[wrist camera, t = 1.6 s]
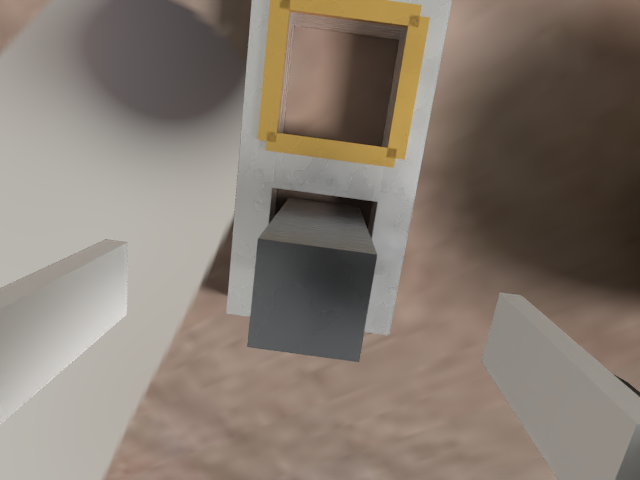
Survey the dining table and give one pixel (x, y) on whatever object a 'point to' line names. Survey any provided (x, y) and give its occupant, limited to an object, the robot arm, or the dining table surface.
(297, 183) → the grey slotted holder
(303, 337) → the peg
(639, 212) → the dining table surface
